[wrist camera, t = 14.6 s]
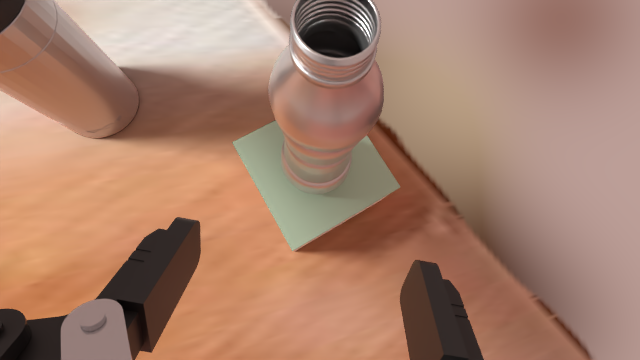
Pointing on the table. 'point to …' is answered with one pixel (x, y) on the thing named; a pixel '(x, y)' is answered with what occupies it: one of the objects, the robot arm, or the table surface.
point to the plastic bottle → (326, 89)
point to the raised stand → (312, 209)
